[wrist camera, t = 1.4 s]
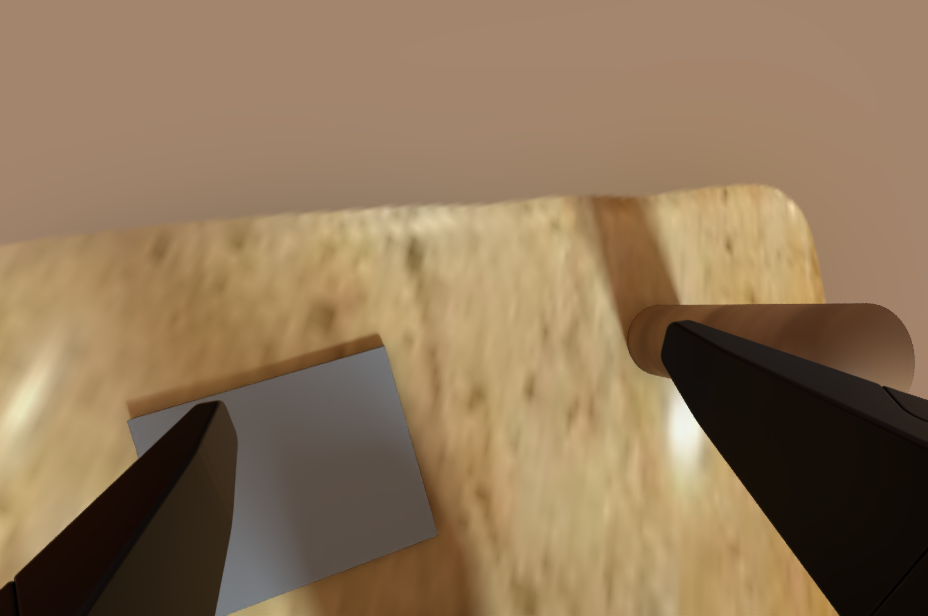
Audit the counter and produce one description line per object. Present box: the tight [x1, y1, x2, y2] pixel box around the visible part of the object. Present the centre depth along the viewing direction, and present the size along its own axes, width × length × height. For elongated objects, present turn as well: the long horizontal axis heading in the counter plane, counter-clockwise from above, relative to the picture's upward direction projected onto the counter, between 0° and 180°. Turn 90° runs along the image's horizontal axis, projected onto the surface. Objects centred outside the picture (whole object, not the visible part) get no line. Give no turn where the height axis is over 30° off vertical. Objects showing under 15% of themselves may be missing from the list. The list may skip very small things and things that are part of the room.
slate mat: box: [127, 346, 438, 616], centre depth 25 cm, size 11×13×1 cm
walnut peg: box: [628, 303, 915, 393], centre depth 23 cm, size 4×4×12 cm
